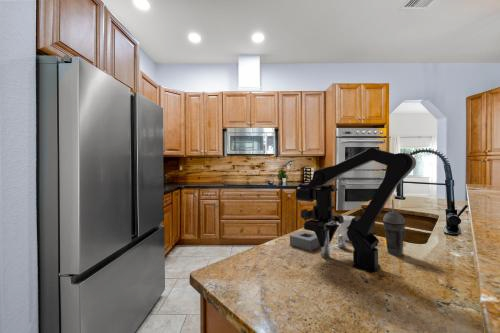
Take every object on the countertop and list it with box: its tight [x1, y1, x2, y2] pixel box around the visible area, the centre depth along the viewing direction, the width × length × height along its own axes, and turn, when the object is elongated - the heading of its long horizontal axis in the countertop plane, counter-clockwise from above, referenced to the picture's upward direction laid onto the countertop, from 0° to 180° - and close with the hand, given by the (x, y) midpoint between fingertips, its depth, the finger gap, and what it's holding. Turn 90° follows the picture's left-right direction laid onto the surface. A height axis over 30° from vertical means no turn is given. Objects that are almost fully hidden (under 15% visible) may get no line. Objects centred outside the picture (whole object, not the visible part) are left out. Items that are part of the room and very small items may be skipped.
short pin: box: [337, 234, 347, 250], centre depth 93 cm, size 3×3×5 cm
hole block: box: [289, 230, 321, 252], centre depth 97 cm, size 10×10×4 cm
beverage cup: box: [382, 198, 406, 257], centre depth 85 cm, size 7×7×20 cm
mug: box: [336, 215, 355, 242], centre depth 104 cm, size 12×9×9 cm
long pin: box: [320, 228, 331, 259], centre depth 84 cm, size 3×3×10 cm
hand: (325, 245), depth 84 cm, fingers open, 4 cm apart
